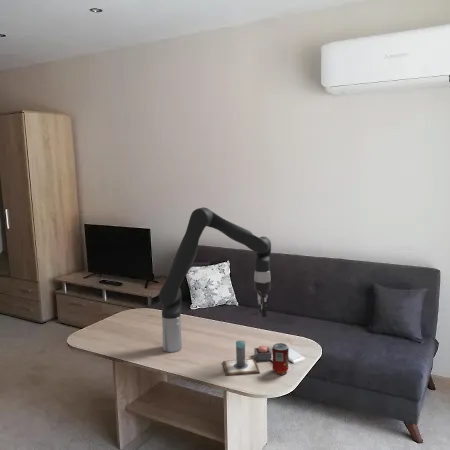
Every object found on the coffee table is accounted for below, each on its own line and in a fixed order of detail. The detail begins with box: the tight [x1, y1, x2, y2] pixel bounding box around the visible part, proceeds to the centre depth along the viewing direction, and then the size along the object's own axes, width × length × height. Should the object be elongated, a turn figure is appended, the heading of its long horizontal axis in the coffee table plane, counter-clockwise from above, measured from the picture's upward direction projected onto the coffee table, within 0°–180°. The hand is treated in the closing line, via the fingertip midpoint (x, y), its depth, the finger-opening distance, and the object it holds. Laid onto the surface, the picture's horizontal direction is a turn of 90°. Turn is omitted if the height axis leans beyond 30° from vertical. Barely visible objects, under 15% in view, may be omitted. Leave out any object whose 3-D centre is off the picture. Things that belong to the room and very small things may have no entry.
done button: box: [257, 345, 268, 353], centre depth 213 cm, size 4×4×2 cm
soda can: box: [272, 342, 290, 375], centre depth 199 cm, size 7×7×12 cm
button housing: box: [253, 346, 273, 362], centre depth 213 cm, size 7×7×4 cm
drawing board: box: [222, 358, 261, 377], centre depth 203 cm, size 15×13×1 cm
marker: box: [235, 340, 246, 367], centre depth 203 cm, size 4×4×11 cm
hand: (262, 314), depth 211 cm, fingers open, 5 cm apart
